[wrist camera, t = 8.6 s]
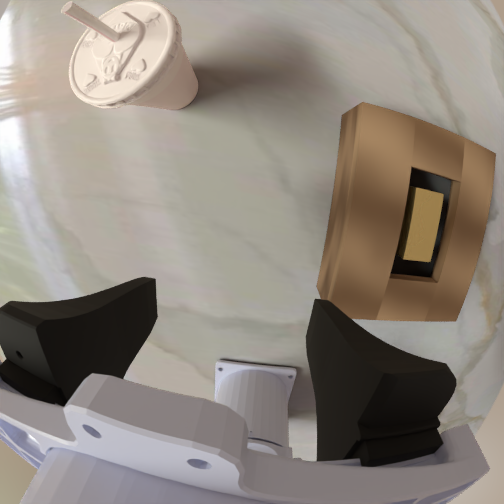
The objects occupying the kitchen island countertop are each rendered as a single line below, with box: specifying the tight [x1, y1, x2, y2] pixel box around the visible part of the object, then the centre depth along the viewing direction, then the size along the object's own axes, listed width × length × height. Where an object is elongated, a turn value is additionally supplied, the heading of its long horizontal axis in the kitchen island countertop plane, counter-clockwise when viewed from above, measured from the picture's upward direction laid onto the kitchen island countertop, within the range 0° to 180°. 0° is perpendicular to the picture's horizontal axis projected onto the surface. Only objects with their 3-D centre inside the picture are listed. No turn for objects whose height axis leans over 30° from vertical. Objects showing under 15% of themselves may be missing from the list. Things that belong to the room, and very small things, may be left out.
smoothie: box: [61, 0, 198, 110], centre depth 12 cm, size 6×6×14 cm
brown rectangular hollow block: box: [317, 102, 496, 321], centre depth 18 cm, size 14×12×5 cm
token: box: [396, 186, 444, 262], centre depth 18 cm, size 5×2×4 cm, turn 176°
